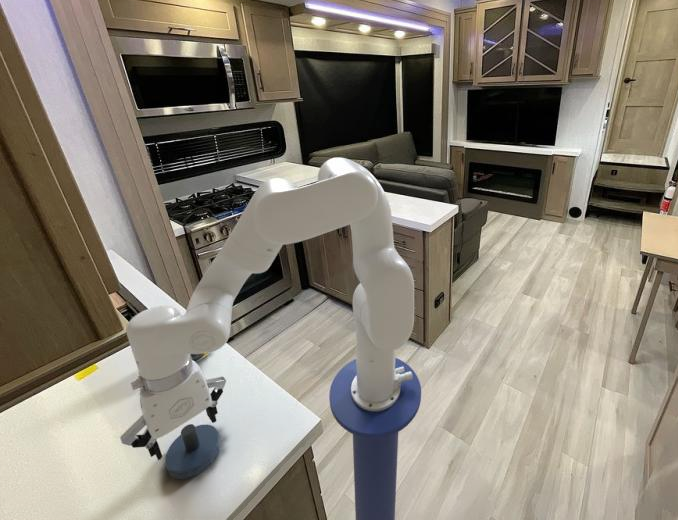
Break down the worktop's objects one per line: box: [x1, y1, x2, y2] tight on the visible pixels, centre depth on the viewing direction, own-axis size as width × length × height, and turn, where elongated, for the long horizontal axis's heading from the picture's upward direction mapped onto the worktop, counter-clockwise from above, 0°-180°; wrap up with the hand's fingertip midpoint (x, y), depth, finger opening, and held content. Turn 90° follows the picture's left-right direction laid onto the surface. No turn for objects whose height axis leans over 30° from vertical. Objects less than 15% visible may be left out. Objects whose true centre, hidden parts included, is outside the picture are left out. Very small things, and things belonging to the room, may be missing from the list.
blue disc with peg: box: [164, 423, 222, 480], centre depth 65 cm, size 9×9×7 cm
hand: (186, 435), depth 64 cm, fingers open, 9 cm apart
